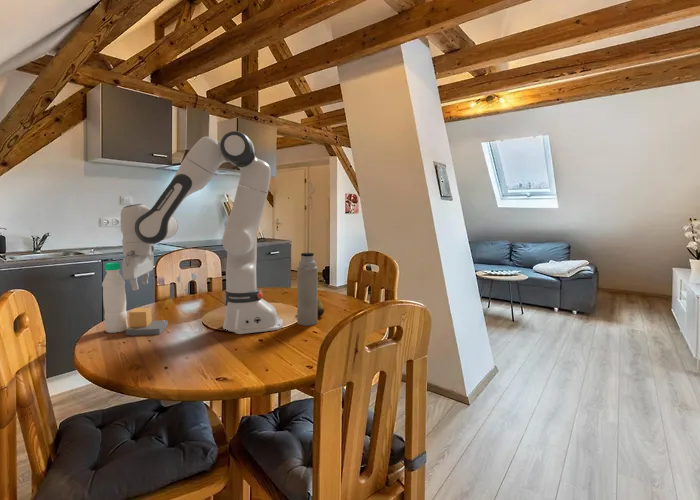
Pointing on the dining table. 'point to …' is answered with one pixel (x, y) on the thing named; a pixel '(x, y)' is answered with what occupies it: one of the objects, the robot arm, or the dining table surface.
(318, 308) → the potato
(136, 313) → the wooden cube
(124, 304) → the white milk bottle
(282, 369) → the dining table surface
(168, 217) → the robot arm
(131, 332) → the plate
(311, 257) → the thermos bottle
